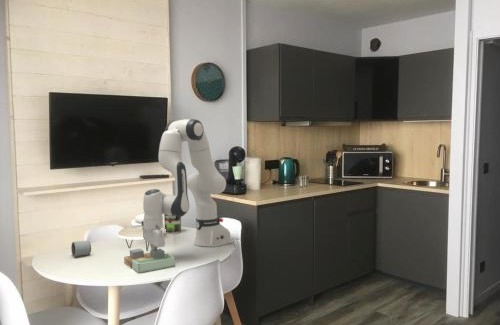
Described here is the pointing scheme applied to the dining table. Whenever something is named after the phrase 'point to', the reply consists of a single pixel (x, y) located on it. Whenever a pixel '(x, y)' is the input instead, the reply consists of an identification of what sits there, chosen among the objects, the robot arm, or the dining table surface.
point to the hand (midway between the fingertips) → (154, 252)
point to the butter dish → (138, 221)
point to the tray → (153, 264)
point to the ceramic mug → (81, 248)
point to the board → (129, 260)
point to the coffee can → (172, 224)
